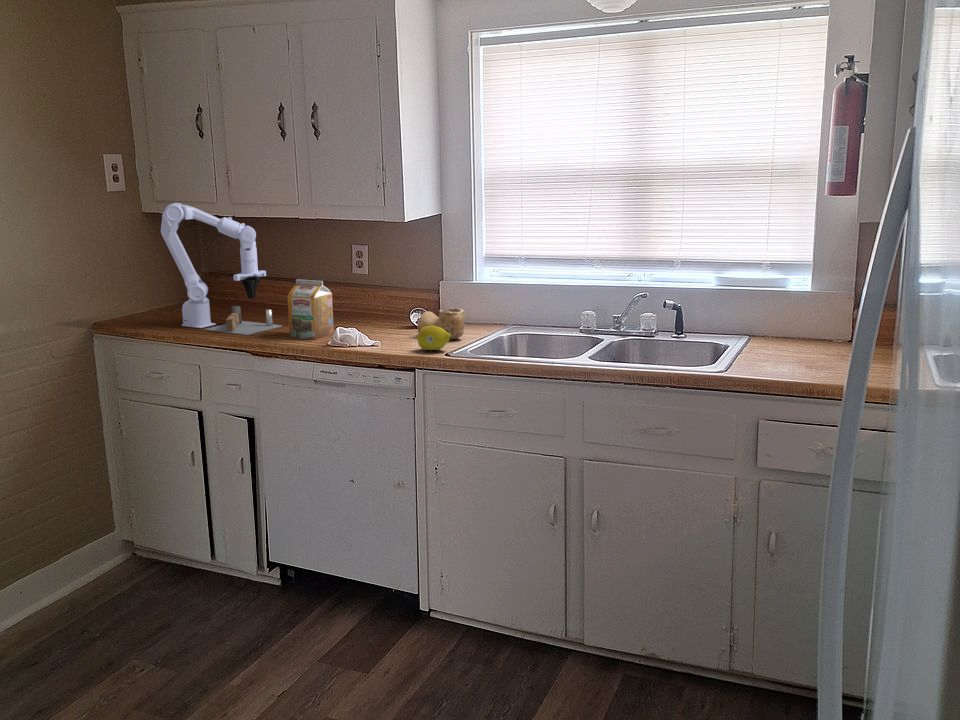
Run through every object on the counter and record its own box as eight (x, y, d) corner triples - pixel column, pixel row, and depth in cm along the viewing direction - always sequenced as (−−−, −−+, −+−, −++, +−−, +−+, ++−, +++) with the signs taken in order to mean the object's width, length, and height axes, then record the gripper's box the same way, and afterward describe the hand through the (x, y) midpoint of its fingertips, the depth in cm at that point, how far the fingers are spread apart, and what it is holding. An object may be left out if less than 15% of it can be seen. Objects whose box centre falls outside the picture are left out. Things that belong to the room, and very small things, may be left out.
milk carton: (333, 334, 299) (331, 279, 295) (316, 339, 290) (313, 283, 286) (308, 331, 304) (305, 277, 299) (289, 337, 294) (286, 281, 290)
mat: (204, 329, 307) (204, 329, 307) (240, 321, 322) (240, 320, 322) (246, 335, 298) (246, 334, 298) (282, 326, 313) (282, 325, 313)
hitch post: (265, 326, 313) (264, 310, 311) (269, 325, 314) (268, 309, 313) (270, 327, 312) (269, 310, 310) (273, 326, 313) (272, 309, 312)
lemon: (411, 352, 272) (411, 326, 270) (423, 347, 279) (422, 322, 277) (443, 355, 267) (442, 329, 265) (454, 349, 274) (453, 324, 272)
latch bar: (233, 322, 318) (232, 305, 317) (242, 321, 318) (241, 305, 317) (224, 331, 302) (223, 314, 301) (234, 330, 302) (233, 313, 301)
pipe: (431, 333, 300) (430, 304, 298) (470, 338, 291) (470, 308, 289) (415, 338, 293) (414, 308, 290) (455, 343, 284) (455, 313, 282)
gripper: (243, 263, 305) (245, 301, 308) (271, 259, 317) (273, 296, 320) (228, 262, 308) (230, 300, 311) (256, 258, 321) (259, 294, 324)
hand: (251, 298), depth 316 cm, fingers closed
